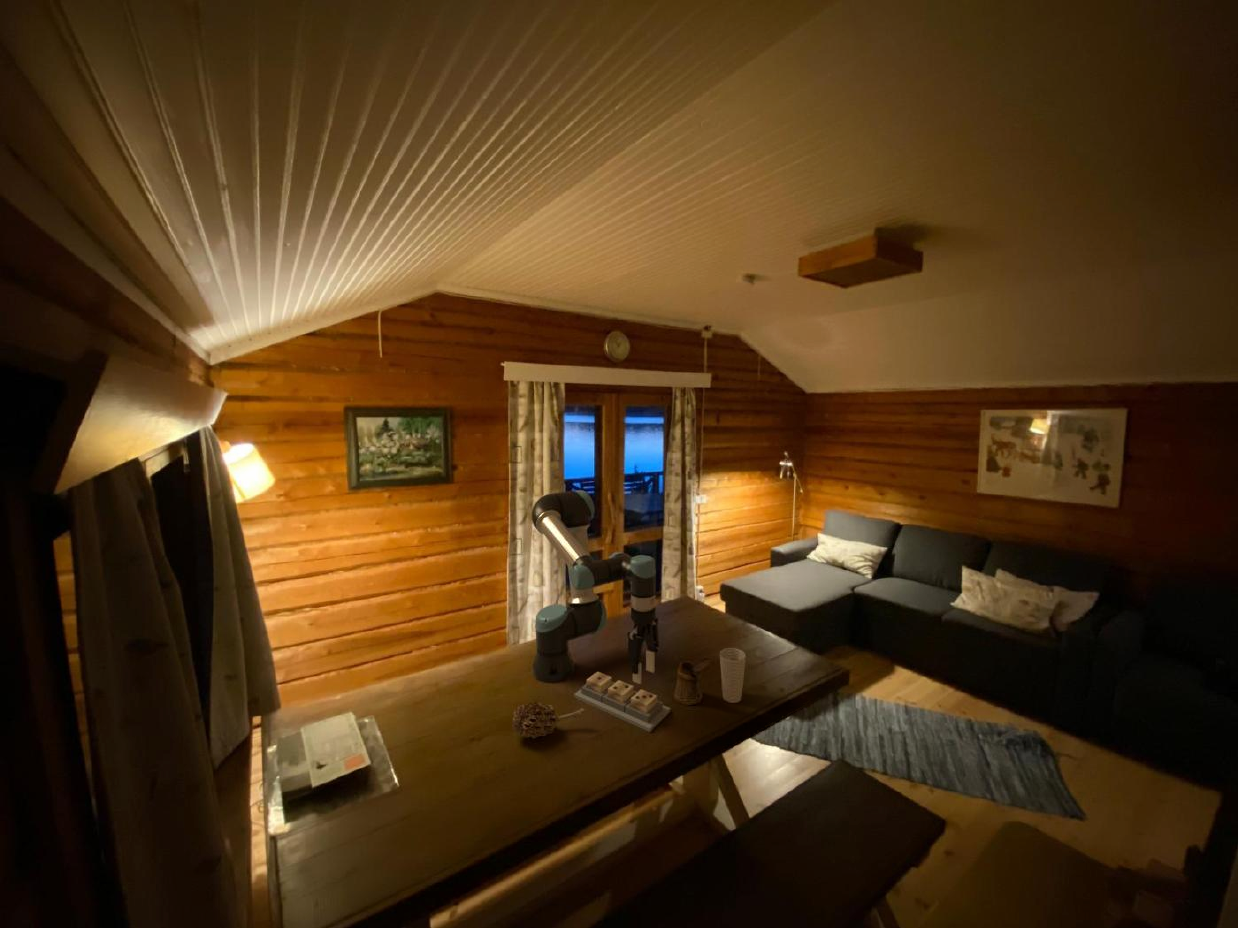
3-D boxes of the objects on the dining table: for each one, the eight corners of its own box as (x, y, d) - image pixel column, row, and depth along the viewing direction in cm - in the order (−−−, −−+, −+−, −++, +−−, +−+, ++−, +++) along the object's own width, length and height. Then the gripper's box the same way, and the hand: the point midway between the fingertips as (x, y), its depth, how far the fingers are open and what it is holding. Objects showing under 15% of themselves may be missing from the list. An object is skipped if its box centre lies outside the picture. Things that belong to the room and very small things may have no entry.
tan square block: (586, 687, 171) (586, 679, 170) (597, 679, 175) (597, 670, 175) (600, 694, 167) (600, 685, 167) (611, 685, 172) (611, 676, 171)
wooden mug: (694, 716, 160) (694, 663, 157) (668, 694, 171) (669, 644, 169) (716, 707, 164) (717, 655, 162) (690, 686, 176) (690, 637, 173)
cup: (713, 697, 169) (714, 654, 167) (728, 686, 175) (729, 644, 173) (735, 708, 163) (736, 663, 161) (750, 697, 169) (751, 653, 167)
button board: (574, 697, 171) (573, 688, 170) (596, 680, 180) (596, 671, 180) (649, 732, 153) (649, 721, 152) (670, 711, 162) (670, 701, 162)
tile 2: (608, 697, 165) (607, 688, 165) (618, 688, 170) (618, 679, 170) (623, 703, 162) (622, 694, 161) (633, 694, 167) (633, 685, 166)
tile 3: (630, 707, 160) (630, 697, 160) (641, 697, 165) (641, 688, 164) (646, 714, 157) (646, 704, 156) (657, 704, 161) (657, 694, 161)
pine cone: (515, 751, 146) (513, 719, 144) (510, 730, 155) (509, 700, 153) (589, 733, 153) (588, 702, 151) (581, 714, 162) (580, 685, 160)
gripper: (635, 622, 146) (635, 696, 149) (670, 598, 161) (670, 665, 165) (614, 615, 150) (615, 687, 154) (650, 593, 166) (650, 658, 169)
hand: (643, 676), depth 159 cm, fingers open, 7 cm apart
